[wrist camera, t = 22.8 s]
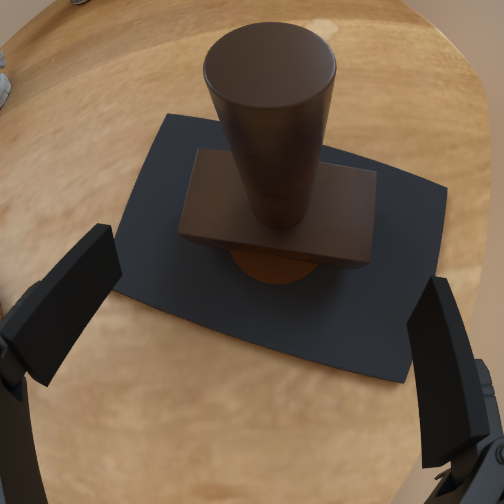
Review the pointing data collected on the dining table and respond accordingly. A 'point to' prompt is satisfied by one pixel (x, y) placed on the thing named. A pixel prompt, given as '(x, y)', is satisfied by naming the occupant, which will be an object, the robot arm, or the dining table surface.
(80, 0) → the pill bottle
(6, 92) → the mug
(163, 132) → the stain mat
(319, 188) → the scrub brush
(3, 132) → the dining table surface
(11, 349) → the robot arm
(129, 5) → the dining table surface
